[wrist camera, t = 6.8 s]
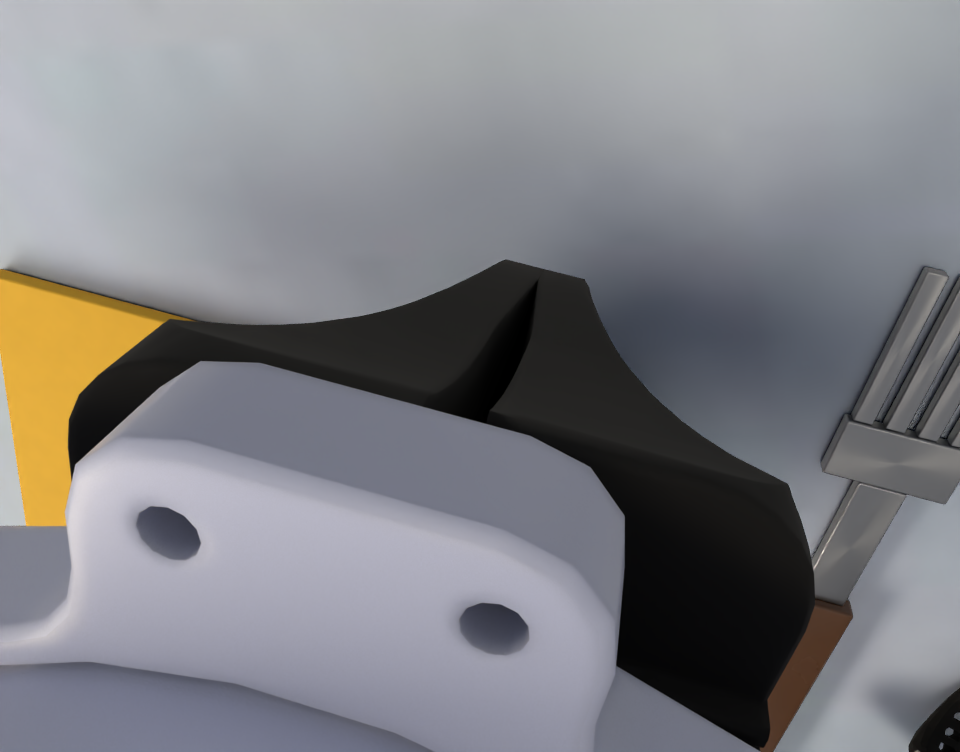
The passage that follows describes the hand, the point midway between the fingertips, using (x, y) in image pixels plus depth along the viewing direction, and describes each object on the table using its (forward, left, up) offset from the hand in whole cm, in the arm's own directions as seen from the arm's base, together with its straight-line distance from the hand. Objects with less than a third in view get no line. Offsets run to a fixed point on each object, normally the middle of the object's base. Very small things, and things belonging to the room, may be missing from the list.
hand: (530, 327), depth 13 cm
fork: (-7, -7, -3) cm, 10 cm away
